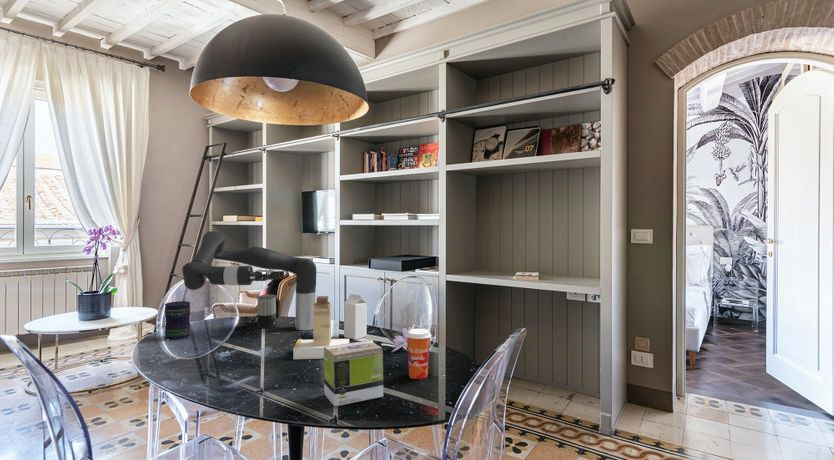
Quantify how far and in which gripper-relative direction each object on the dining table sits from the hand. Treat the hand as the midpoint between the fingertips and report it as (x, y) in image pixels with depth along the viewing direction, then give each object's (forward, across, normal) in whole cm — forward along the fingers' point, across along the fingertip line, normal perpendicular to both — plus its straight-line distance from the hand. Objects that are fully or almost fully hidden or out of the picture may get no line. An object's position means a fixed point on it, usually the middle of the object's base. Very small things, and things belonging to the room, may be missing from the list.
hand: (281, 275), depth 172 cm
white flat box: (+16, -4, +30) cm, 34 cm away
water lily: (+48, -1, +30) cm, 57 cm away
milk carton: (+28, +20, +30) cm, 46 cm away
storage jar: (-49, +26, +30) cm, 63 cm away
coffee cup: (+50, -32, +30) cm, 67 cm away
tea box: (+29, -47, +30) cm, 63 cm away
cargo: (+16, -4, +12) cm, 20 cm away
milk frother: (-18, +46, +30) cm, 58 cm away
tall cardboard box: (+16, -4, +26) cm, 31 cm away
